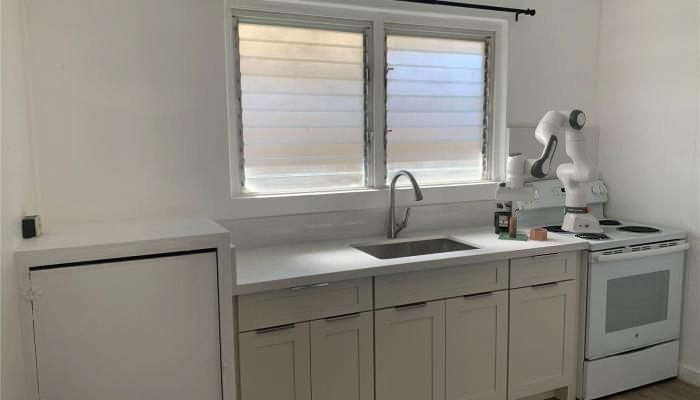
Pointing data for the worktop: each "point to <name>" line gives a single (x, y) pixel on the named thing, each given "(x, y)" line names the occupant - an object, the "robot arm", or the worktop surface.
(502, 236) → the tray
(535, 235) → the cup
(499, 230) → the french press
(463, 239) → the worktop surface
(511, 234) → the dowel
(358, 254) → the worktop surface
